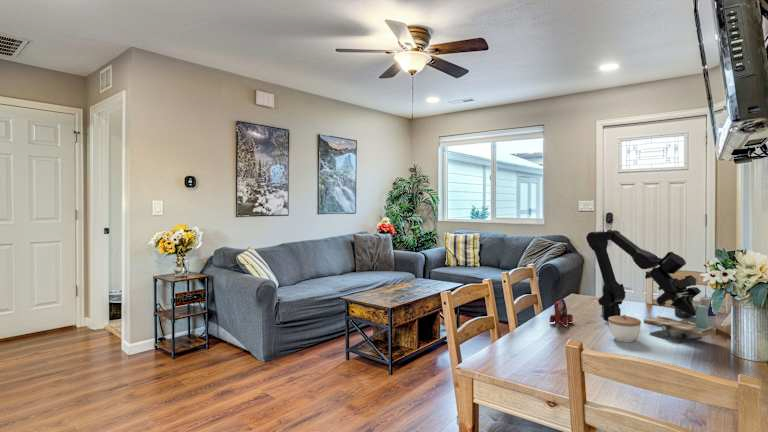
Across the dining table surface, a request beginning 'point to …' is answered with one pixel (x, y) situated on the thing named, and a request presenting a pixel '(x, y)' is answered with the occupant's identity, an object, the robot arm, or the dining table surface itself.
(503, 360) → the dining table surface
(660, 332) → the beam stand
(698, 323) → the green rectangular block
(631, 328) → the lidded jar
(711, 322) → the energy drink
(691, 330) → the balance beam
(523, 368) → the dining table surface
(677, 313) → the supplement bottle
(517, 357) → the dining table surface
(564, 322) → the dark red irregular piece
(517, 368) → the dining table surface
